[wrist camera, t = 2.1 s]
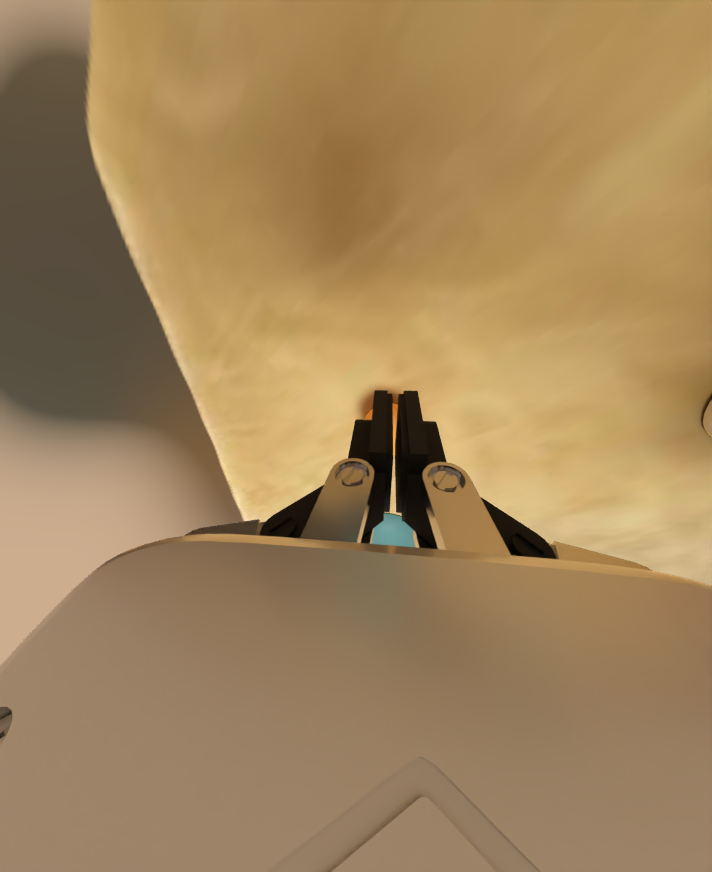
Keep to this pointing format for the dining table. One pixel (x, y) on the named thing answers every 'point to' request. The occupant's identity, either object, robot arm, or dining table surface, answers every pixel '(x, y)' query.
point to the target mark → (393, 532)
